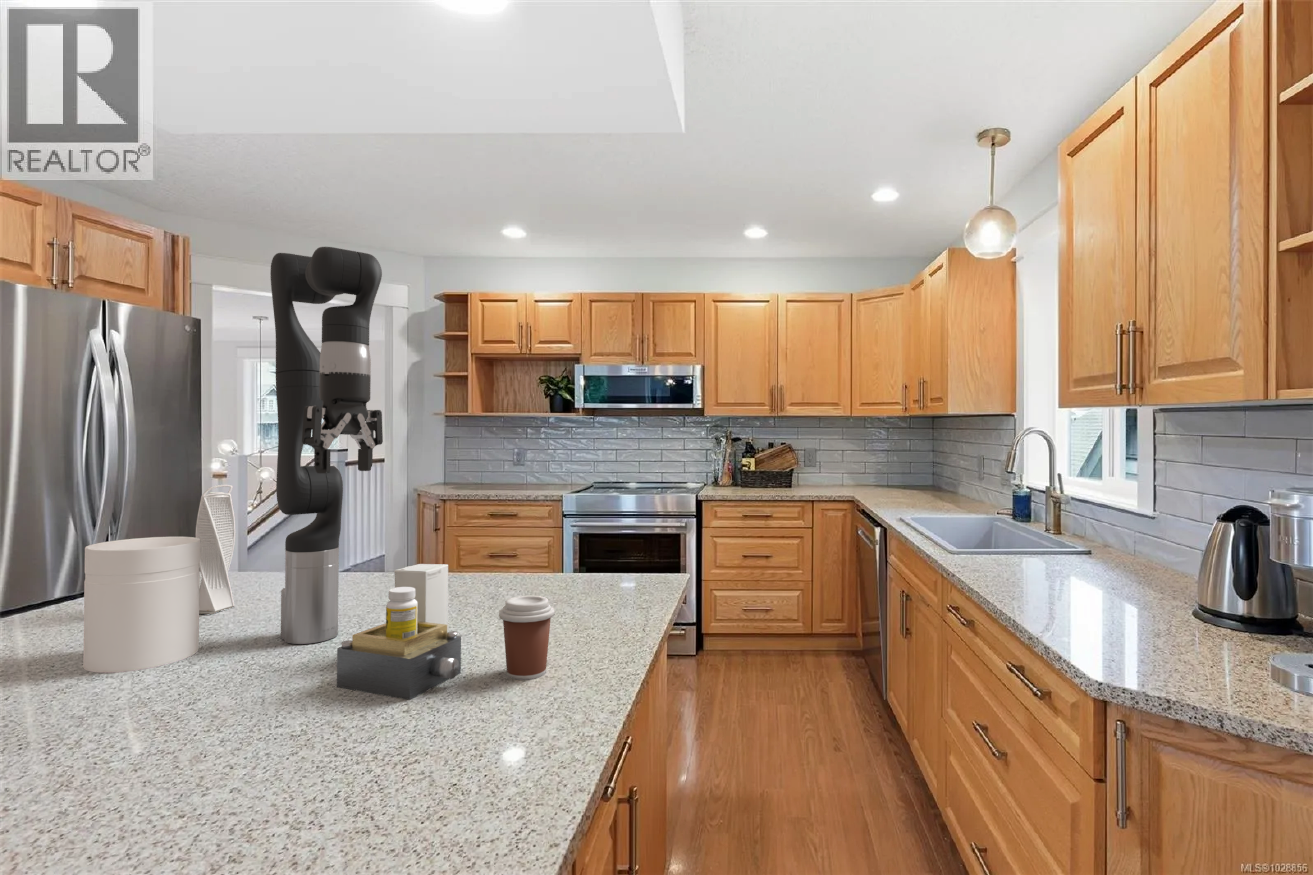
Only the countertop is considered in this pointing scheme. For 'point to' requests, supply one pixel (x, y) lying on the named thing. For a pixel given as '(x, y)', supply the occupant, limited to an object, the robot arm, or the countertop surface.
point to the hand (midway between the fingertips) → (344, 472)
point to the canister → (140, 603)
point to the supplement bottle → (401, 613)
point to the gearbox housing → (399, 661)
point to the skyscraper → (215, 550)
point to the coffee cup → (526, 635)
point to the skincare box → (427, 590)
